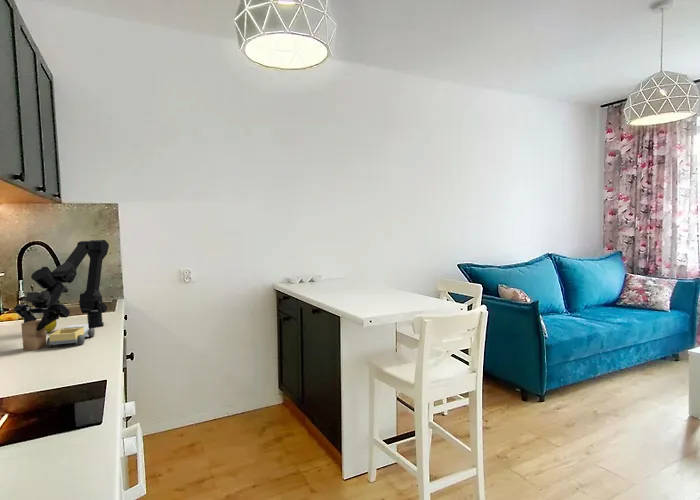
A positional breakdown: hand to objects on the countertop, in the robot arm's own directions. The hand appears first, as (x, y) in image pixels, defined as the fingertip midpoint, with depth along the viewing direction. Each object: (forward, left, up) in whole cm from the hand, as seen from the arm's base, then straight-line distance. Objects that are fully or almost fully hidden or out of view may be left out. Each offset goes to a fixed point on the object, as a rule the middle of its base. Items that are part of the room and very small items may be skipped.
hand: (30, 330), depth 157 cm
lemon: (-27, +3, -7) cm, 28 cm away
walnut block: (-1, +1, -7) cm, 7 cm away
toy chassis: (-3, +12, -7) cm, 15 cm away
